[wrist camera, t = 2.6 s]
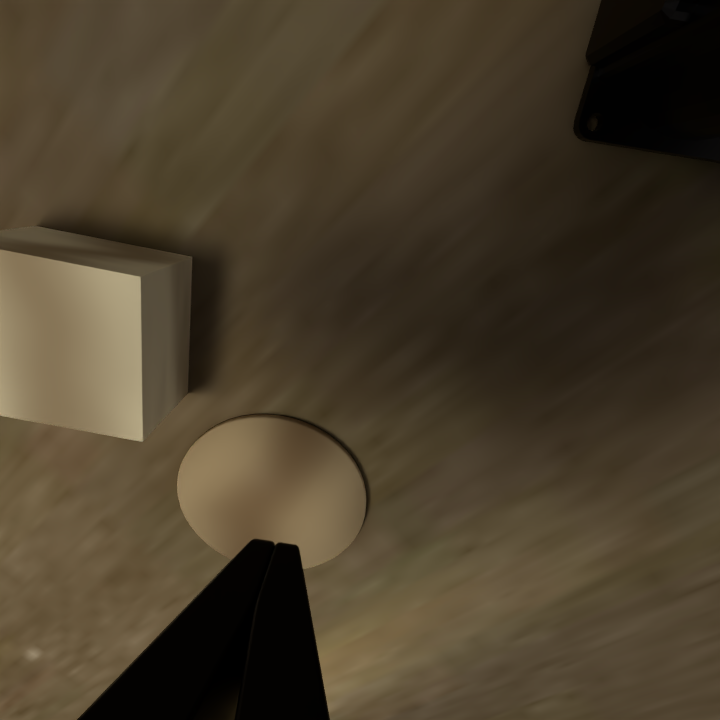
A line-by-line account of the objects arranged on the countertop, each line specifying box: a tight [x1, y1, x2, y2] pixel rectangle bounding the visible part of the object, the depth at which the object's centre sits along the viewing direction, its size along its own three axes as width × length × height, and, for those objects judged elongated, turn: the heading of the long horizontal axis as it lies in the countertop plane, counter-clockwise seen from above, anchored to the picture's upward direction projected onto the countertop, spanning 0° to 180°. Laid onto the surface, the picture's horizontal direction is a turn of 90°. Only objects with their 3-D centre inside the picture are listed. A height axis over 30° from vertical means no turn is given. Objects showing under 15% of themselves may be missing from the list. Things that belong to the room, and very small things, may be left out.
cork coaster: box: [177, 414, 366, 569], centre depth 20 cm, size 9×9×1 cm
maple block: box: [0, 226, 192, 442], centre depth 16 cm, size 6×6×4 cm
